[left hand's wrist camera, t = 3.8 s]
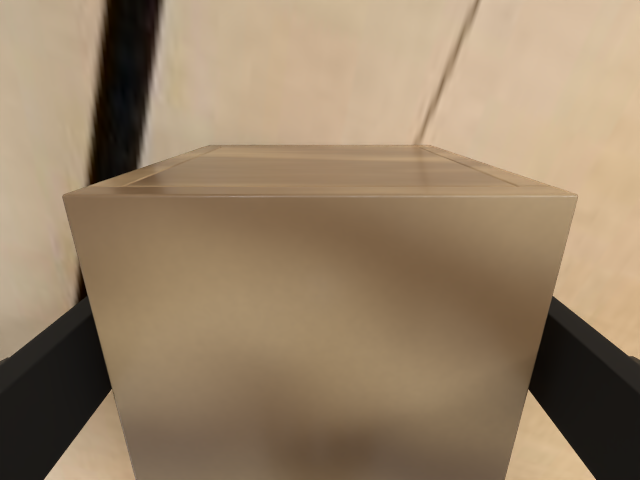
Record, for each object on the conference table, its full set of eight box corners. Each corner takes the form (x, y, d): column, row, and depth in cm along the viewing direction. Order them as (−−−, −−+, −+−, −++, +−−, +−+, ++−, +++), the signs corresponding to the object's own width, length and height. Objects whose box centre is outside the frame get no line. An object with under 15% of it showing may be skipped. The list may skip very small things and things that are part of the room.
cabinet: (404, 396, 24) (469, 616, 13) (234, 396, 23) (170, 616, 13) (431, 145, 18) (580, 194, 8) (208, 145, 18) (59, 194, 8)
